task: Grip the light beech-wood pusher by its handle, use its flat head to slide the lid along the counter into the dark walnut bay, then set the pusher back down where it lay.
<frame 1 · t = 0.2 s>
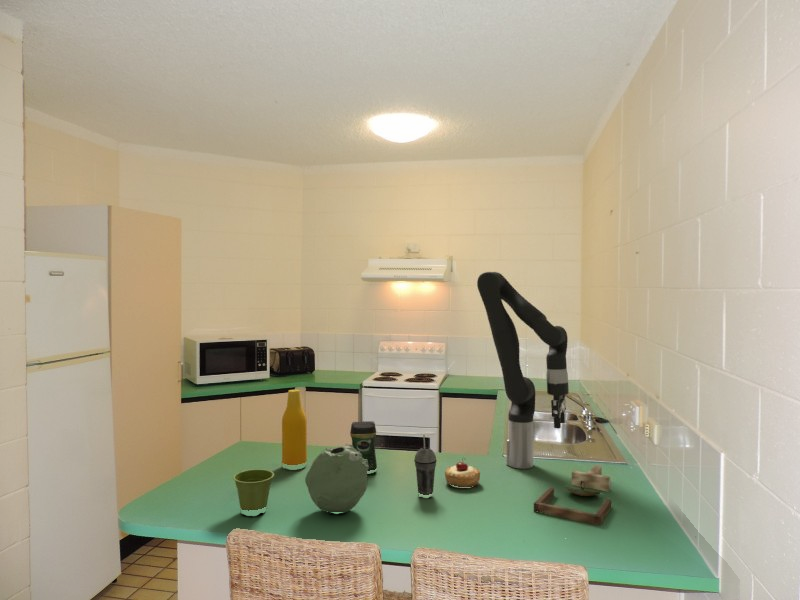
hand: (559, 425, 197), 17 cm above the worktop, tool pointing down, fingers open, 8 cm apart
wooden pusher: (590, 487, 182), on the worktop
walnut bay: (573, 508, 164), on the worktop
pastry: (462, 484, 186), on the worktop
lid: (582, 497, 174), on the worktop
beer bottle: (294, 467, 205), on the worktop
coffee jar: (363, 472, 199), on the worktop
round grey vase: (337, 512, 162), on the worktop
beverage cup: (425, 496, 175), on the worktop
plant pot: (254, 513, 162), on the worktop
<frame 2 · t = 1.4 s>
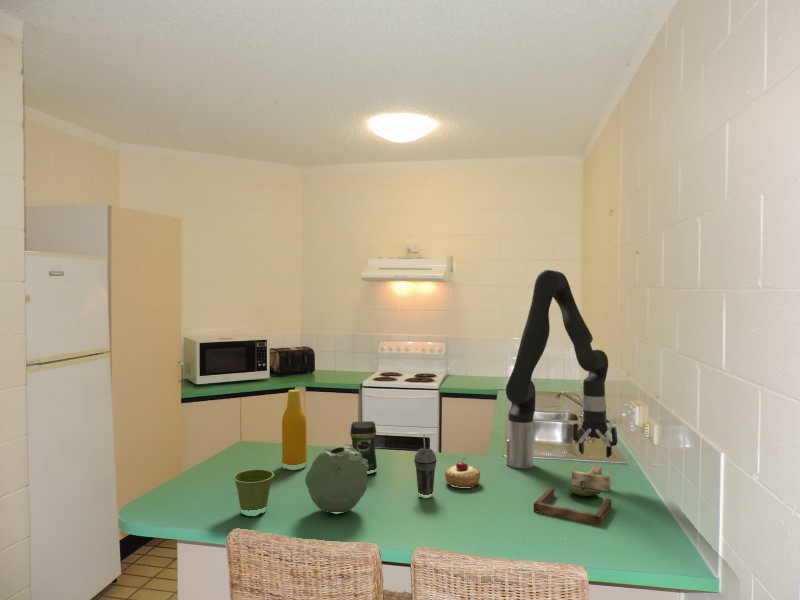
hand: (595, 455, 186), 9 cm above the worktop, tool pointing down, fingers open, 8 cm apart
nothing on the worktop moved.
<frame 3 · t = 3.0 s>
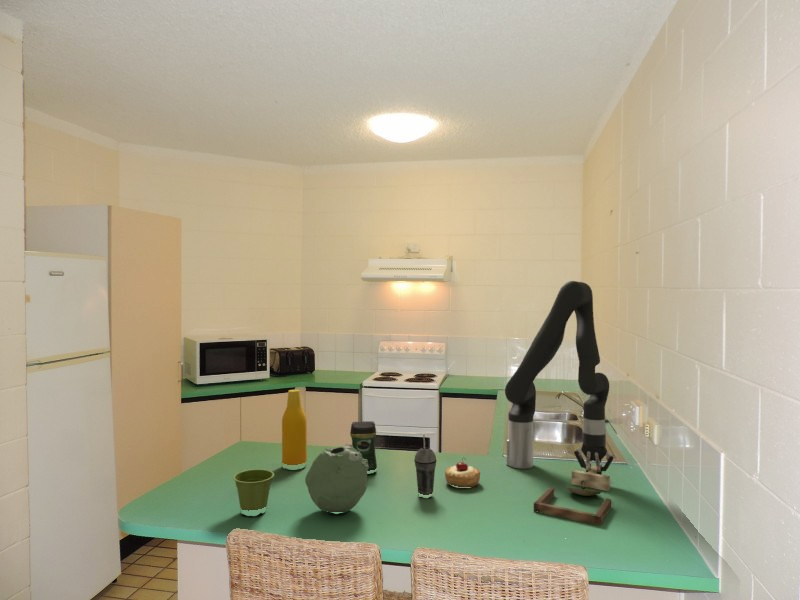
hand: (594, 481, 187), 1 cm above the worktop, tool pointing down, fingers closed on wooden pusher, 2 cm apart
wooden pusher: (590, 486, 182), on the worktop, touching gripper
everything else where it was.
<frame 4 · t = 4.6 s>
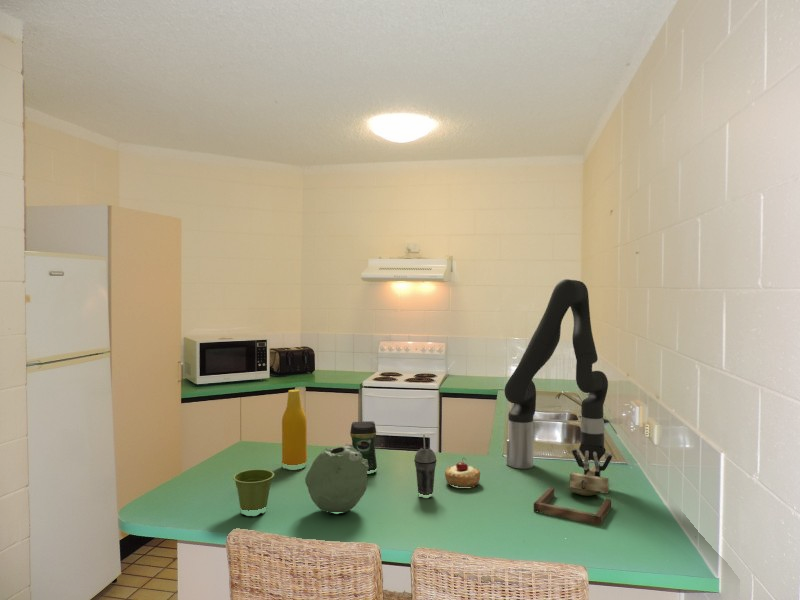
hand: (592, 480, 184), 2 cm above the worktop, tool pointing down, fingers closed on wooden pusher, 2 cm apart
wooden pusher: (588, 489, 180), on the worktop, touching gripper
everything else where it was.
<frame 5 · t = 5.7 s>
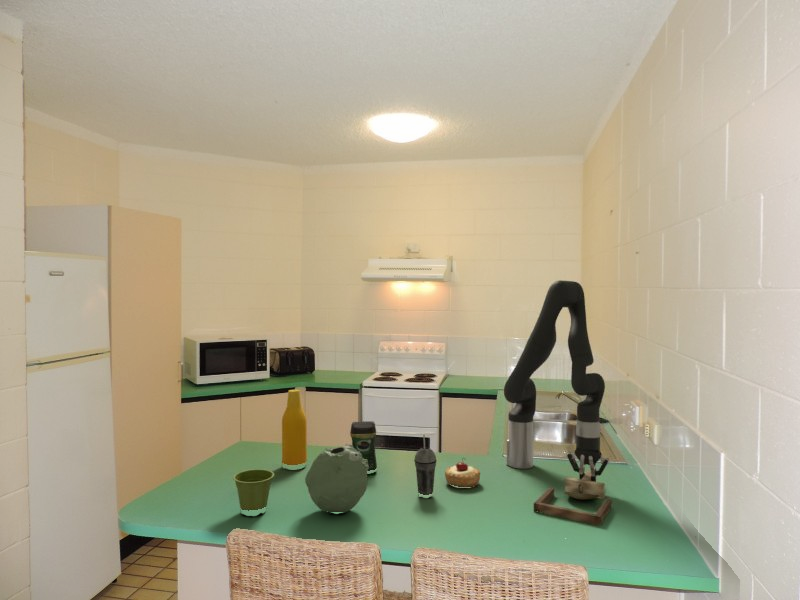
hand: (587, 485, 179), 2 cm above the worktop, tool pointing down, fingers closed on wooden pusher, 2 cm apart
wooden pusher: (584, 494, 176), on the worktop, touching gripper, lid
lid: (581, 501, 170), on the worktop, touching wooden pusher
everything else where it was.
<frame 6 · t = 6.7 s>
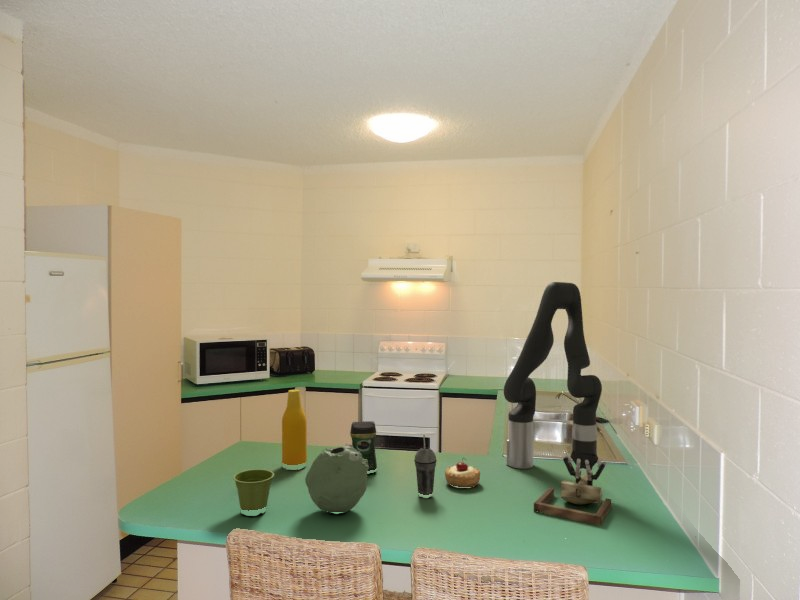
hand: (584, 489, 175), 2 cm above the worktop, tool pointing down, fingers closed on wooden pusher, 2 cm apart
wooden pusher: (581, 498, 172), on the worktop, touching gripper, lid
lid: (578, 506, 166), on the worktop, touching wooden pusher
everything else where it was.
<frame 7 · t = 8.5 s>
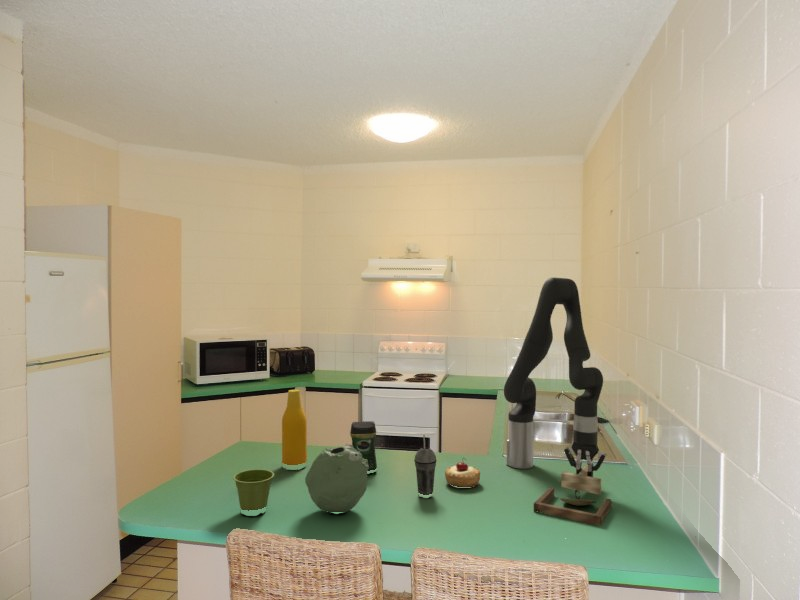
hand: (584, 480, 178), 4 cm above the worktop, tool pointing down, fingers closed on wooden pusher, 2 cm apart
wooden pusher: (580, 489, 174), point 2 cm above the worktop, touching gripper
lid: (578, 507, 166), on the worktop
everything else where it was.
when the fingers open (2 cm above the worktop, at t = 12.1 s): wooden pusher stays where it is, on the worktop.
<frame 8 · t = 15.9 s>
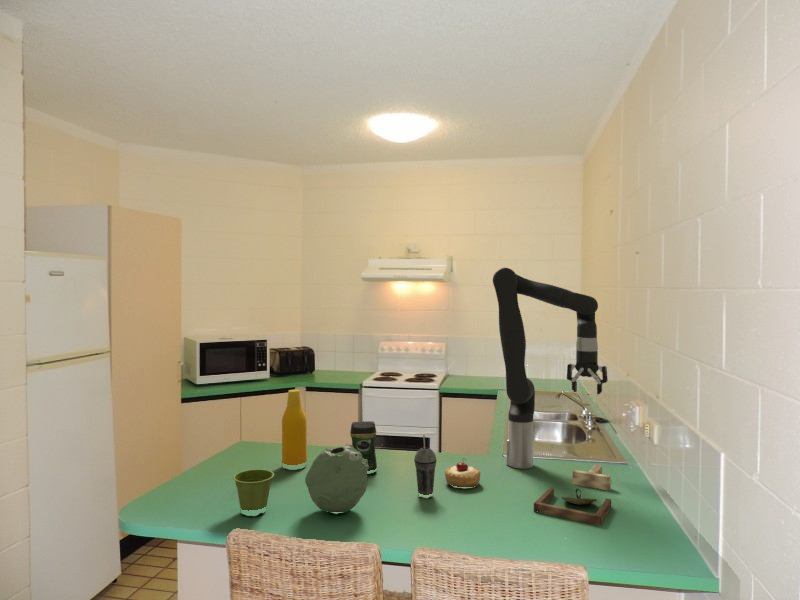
hand: (586, 392, 202), 28 cm above the worktop, tool pointing down, fingers open, 8 cm apart
wooden pusher: (591, 486, 183), on the worktop
lid: (578, 506, 167), on the worktop
everything else where it was.
at the end: lid inside the target area (4.4 cm from its centre), on the worktop; the gripper is holding nothing; wooden pusher touching worktop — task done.
